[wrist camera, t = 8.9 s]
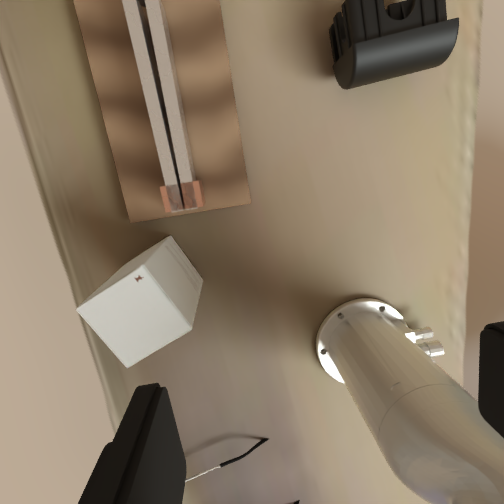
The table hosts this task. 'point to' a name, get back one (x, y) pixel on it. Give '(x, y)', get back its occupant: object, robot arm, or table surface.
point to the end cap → (389, 39)
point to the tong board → (190, 84)
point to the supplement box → (145, 302)
